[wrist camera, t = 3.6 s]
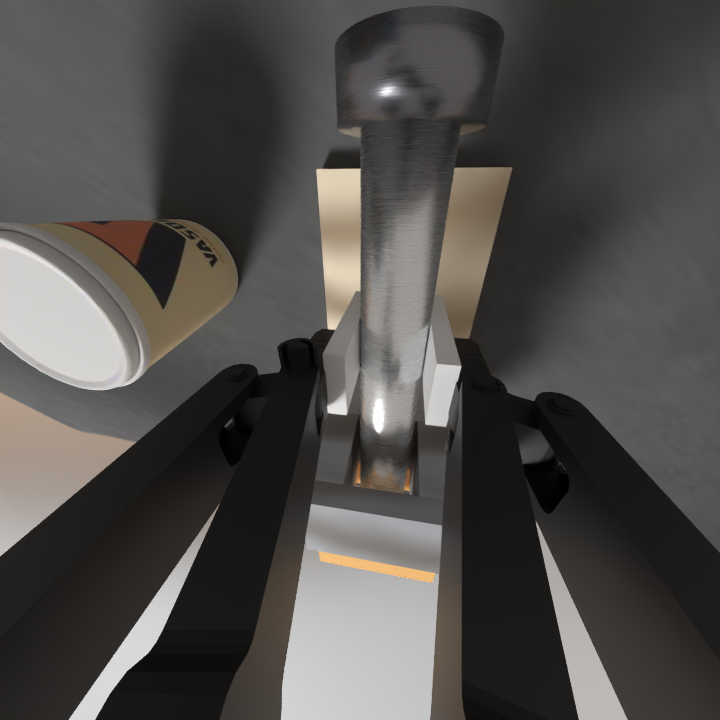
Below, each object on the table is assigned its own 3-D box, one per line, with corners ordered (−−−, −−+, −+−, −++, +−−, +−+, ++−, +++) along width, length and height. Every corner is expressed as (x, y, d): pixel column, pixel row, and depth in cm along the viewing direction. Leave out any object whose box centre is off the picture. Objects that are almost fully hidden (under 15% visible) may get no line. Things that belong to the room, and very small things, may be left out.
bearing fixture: (321, 170, 18) (114, 130, 6) (506, 168, 17) (815, 107, 4) (340, 462, 36) (301, 614, 23) (431, 475, 34) (443, 647, 21)
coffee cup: (259, 246, 22) (132, 295, 12) (235, 332, 27) (133, 417, 17) (147, 182, 21) (-99, 178, 11) (145, 285, 26) (-23, 347, 16)
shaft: (351, 82, 9) (313, 15, 6) (482, 75, 9) (532, -4, 5) (356, 505, 24) (347, 561, 21) (405, 513, 24) (404, 572, 20)
